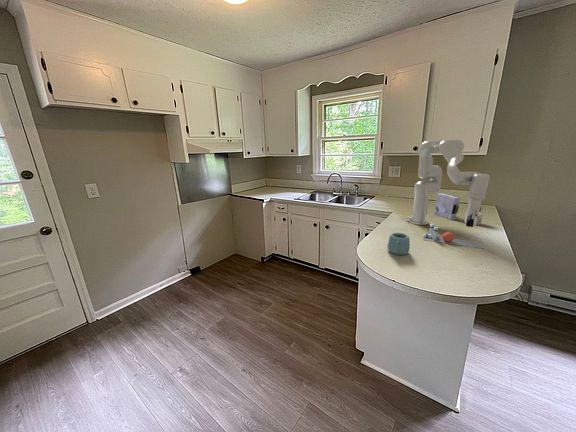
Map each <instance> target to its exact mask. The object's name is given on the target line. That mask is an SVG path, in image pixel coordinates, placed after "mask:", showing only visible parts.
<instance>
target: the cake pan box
mask: <svg viewBox="0 0 576 432" xmlns="http://www.w3.org/2000/svg"><path fill="white" fill-rule="evenodd" d="M460 200H461V198H460V197H457V196H453V195H450V194H446V193H439V192H437V196H436V202H435V207H434V211H433V214H434V215H437V216H440V217H441V218H445V219H448V220H450V221H451V220H453V221H454V220H456V218H457V214H458V212H459V207H460Z"/></svg>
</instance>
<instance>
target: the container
mask: <svg viewBox="0 0 576 432" xmlns="http://www.w3.org/2000/svg"><path fill="white" fill-rule="evenodd" d="M481 211H482V207H481V206H480V210H479V214H478V216H477V217H476V216H475V220H474V225H473V226H478V225H481V224H482V220H483V216H484V214H483V213H481ZM467 219H468V216H467V214H466V213H465V216H464V224H466V223H467Z"/></svg>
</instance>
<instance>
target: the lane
mask: <svg viewBox="0 0 576 432" xmlns="http://www.w3.org/2000/svg"><path fill="white" fill-rule="evenodd" d="M422 240H424V241H429V242H435V243H436V242H437V243H443V244H451V245H457V246H463V247H469V248H475V249H477V248H478V249H484V246H483V243H482V242H481V241H474V240H468V239H467V240H466V239H459V238H454V240H453V241H451V242H446V241H444V240H443V238H442V236H440V239H437V241H433V240H432V238H425V237H424V236H423V238H422Z"/></svg>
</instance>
